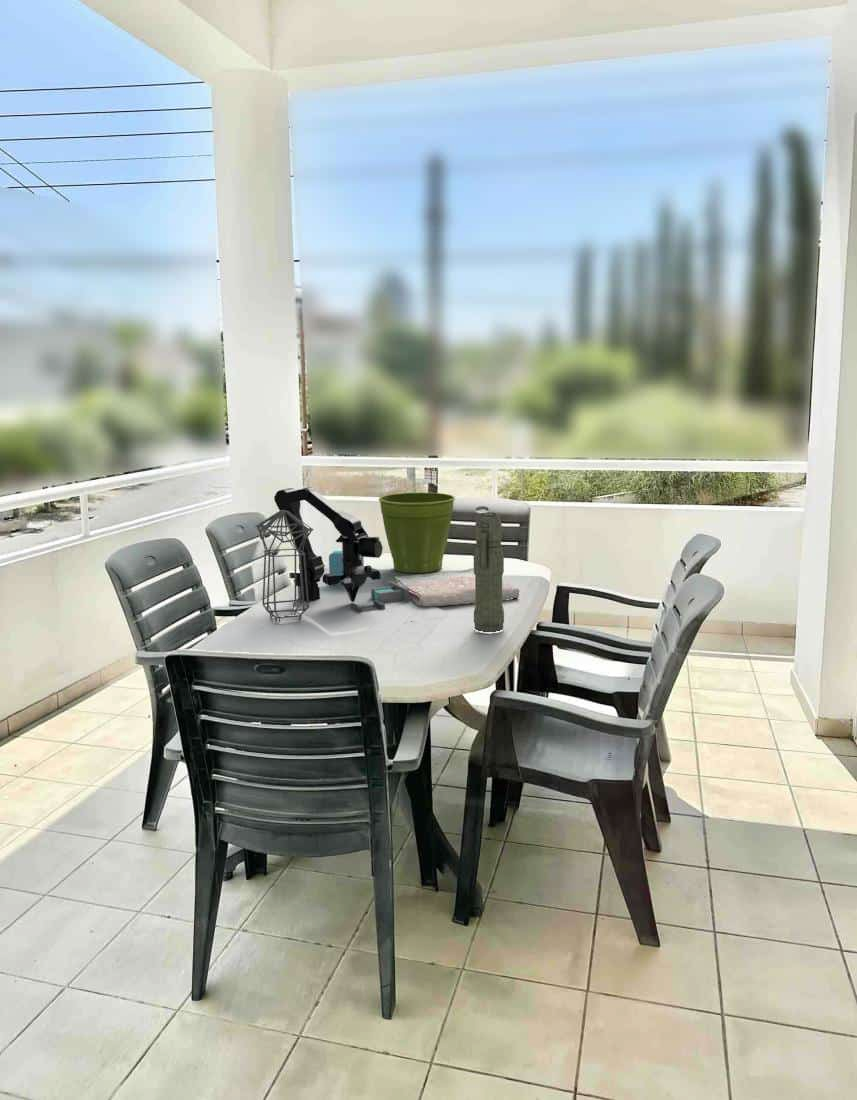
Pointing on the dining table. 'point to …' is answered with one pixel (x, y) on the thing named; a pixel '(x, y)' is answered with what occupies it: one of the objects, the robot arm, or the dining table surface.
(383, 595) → the socket
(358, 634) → the dining table surface
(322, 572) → the robot arm
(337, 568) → the data package
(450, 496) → the plant pot
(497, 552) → the flashlight
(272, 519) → the geometric lantern
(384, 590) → the plug
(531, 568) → the dining table surface
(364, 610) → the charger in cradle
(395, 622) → the dining table surface
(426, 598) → the towel
